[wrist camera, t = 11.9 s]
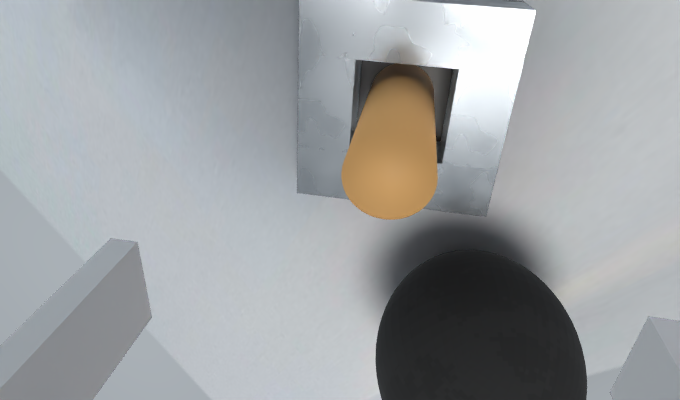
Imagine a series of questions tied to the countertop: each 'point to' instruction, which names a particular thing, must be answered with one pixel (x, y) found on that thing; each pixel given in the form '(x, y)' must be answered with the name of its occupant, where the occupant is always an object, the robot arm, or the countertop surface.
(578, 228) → the countertop surface
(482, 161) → the grey peg socket
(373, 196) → the orange cylindrical peg
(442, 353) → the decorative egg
